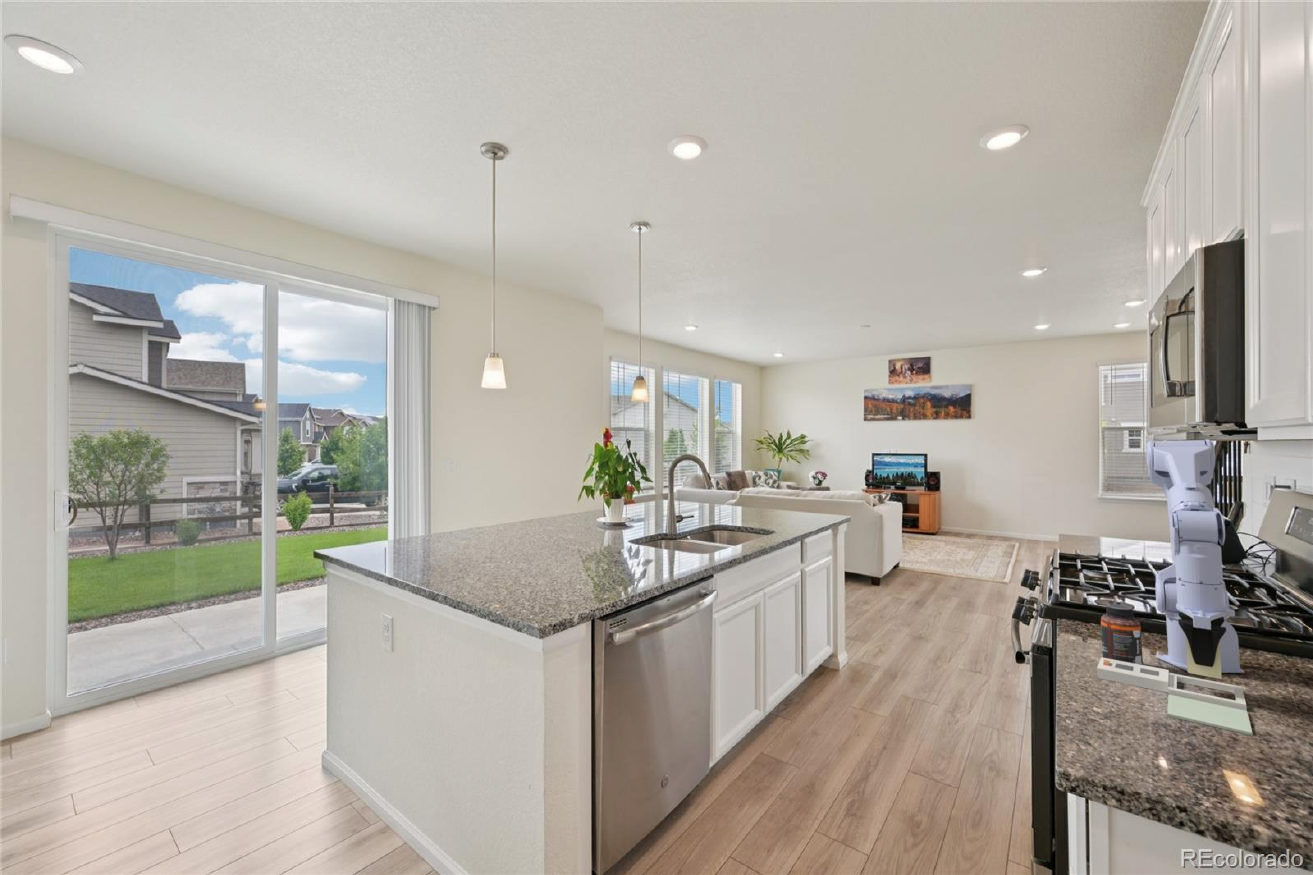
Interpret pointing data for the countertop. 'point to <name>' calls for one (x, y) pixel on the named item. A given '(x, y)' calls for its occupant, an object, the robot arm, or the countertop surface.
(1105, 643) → the supplement bottle
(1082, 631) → the countertop surface
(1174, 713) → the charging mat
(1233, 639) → the robot arm
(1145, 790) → the countertop surface
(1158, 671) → the white slotted frame
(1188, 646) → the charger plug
